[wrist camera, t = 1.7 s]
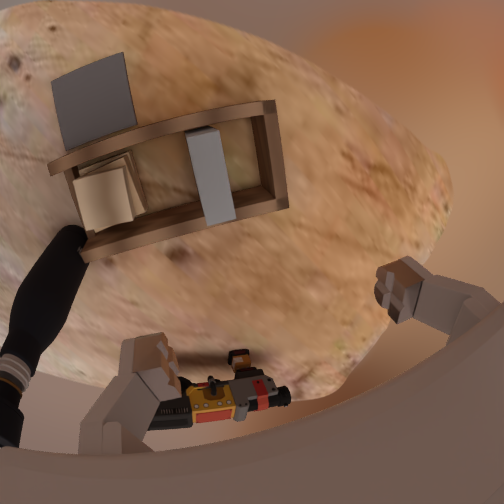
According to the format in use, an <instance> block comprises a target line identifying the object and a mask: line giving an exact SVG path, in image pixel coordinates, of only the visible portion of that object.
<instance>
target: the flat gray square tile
mask: <svg viewBox="0 0 504 504" xmlns="http://www.w3.org/2000/svg"><path fill="white" fill-rule="evenodd" d="M51 85H52V91H53V96H54V102H55V107H56V112H57V117H58V121H59V126H60V130H61V134H62V138H63V142H64V146H65V149H66V151H67V150H70V149H72V148H74V147H77V146H79V145H82V144H84V143H86V142H89V141H92V140H94V139H97V138H99V137H102V136H105V135H107V134H110V133H113V132H116V131H119V130H122V129H125V128H128V127H131V126H134V125H137V120H136V116H135V111H134V107H133V102H132V97H131V92H130V87H129V82H128V77H127V71H126V66H125V60H124V54H123V52H120V53H118V54H115V55H112V56H109V57H106V58H103V59H101V60H98V61H96V62H93V63H91V64H88V65H86V66H83V67H81V68H79V69H76V70H74V71H72V72H70V73H68V74H65V75H63V76H61V77H59V78H57V79H55V80H53V81H51Z"/></svg>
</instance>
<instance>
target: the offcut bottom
mask: <svg viewBox="0 0 504 504" xmlns="http://www.w3.org/2000/svg"><path fill="white" fill-rule="evenodd" d="M126 154H128V157H129V160H130V163H131V165H132V168H133V171H134V173H135V176H136V178H137V181H138V184H139V186H140V189H141V191H142V194H143V196H144V192H143V189H142V186H141V183H140V179H139V176H138V172H137V169H136V165H135V162H134V158H133V155H132V151H131V150H129V151H126V152H124V153H121V154H118V155H115V156H112V157H110V158H107V159H104V160H101V161H99V162H96V163H94V164H91V165H89V166H86V167H84V168H82V169H80V170H79V174H80V176H82V175H84V174H86V173H88V172H90V171H92V170H94V169H96V168H98V167H100V166H102V165H104V164H106V163H109V162H111V161H113V160H115V159H117V158H120V157H122V156H124V155H126ZM144 199H145V196H144ZM145 201H146V199H145ZM146 203H147V202H146ZM147 209H148V205H147V208H146V211H145V212H147ZM145 212H144V213H145Z"/></svg>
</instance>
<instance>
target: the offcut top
mask: <svg viewBox="0 0 504 504" xmlns="http://www.w3.org/2000/svg"><path fill="white" fill-rule="evenodd" d="M73 183H74V188H75V192H76V196H77V200H78V204H79V208H80V212H81V215H82V219H83V223H84V226H85V229H86V231H88V230H92V229H97V228H101V227H106V226H110V225H115V224H120V223H124V222H129V221H133V220H134V218H135V215H136V214H135V209H134V205H133V200H132V195H131V191H130V186H129V180H128V175H127V170H126V165H124V166H120V167H115V168H111V169H107V170H103V171H99V172H95V173H92V174H88V175H84V176H81V177H78V178H77V179H75V180H74V181H73Z"/></svg>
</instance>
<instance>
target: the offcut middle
mask: <svg viewBox="0 0 504 504" xmlns="http://www.w3.org/2000/svg"><path fill="white" fill-rule="evenodd" d="M124 165H126V170H127V175H128V180H129V186H130V191H131V195H132V200H133V205H134V209H135V214H136V215H135V216H137V215H139V214H142V213H144V212H145V211H146V208H147V203H146V201H145V199H144V196H143V194H142V191H141V189H140V186H139V184H138V181H137V178H136V176H135V173H134V171H133V168H132V165H131V163H130V160H129V157H128V154H126V155H124V156H122V157H120V158H117V159H115V160H113V161H111V162H109V163H106V164H104V165H102V166H100V167H98V168H96V169H94V170H92V171H90V172H88V173H86V174H84V175H88V174H92V173H95V172H99V171H103V170H107V169H111V168H115V167H120V166H124ZM84 175H82V176H84ZM80 177H81V176H80ZM73 185H74V183H73ZM110 226H112V225H110ZM110 226H106V227H101V228H97V229H94V231H95V233H96V232H99V231H101V230H103V229H106V228H108V227H110Z"/></svg>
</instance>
